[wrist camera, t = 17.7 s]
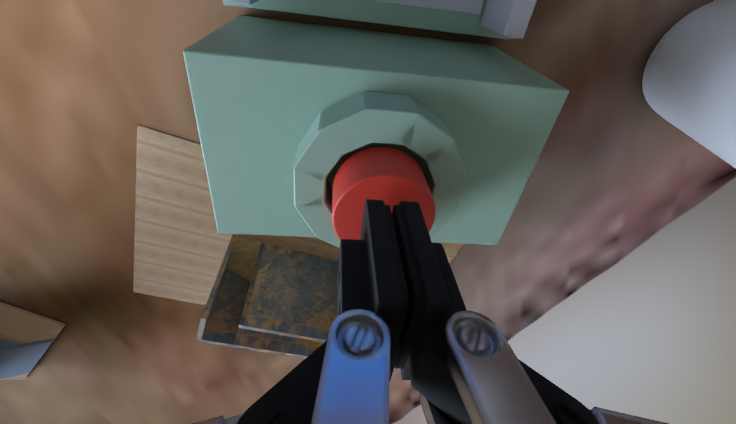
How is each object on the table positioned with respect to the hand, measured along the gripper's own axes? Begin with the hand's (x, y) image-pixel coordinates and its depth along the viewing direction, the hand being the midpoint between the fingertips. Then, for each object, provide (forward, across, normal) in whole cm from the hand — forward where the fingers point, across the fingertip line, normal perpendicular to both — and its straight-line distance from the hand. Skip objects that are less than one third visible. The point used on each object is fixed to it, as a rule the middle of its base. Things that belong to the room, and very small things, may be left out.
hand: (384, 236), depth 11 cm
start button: (+3, 0, 0) cm, 3 cm away
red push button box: (+12, 0, 0) cm, 12 cm away
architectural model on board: (+13, +4, +14) cm, 19 cm away
